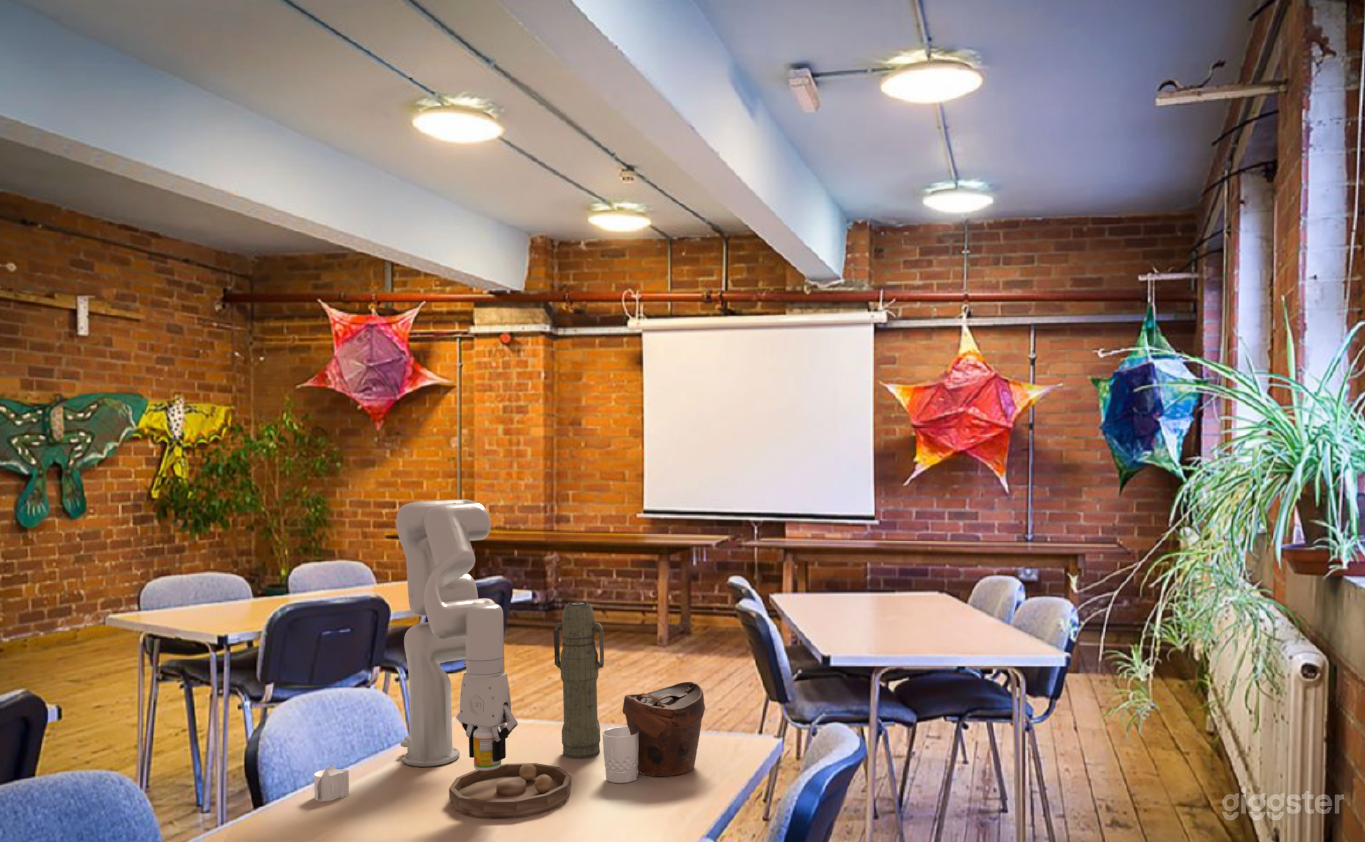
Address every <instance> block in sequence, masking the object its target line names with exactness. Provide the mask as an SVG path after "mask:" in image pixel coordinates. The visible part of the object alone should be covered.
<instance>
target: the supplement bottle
mask: <svg viewBox="0 0 1365 842" xmlns="http://www.w3.org/2000/svg"><path fill="white" fill-rule="evenodd" d="M477 727H478V728H477V729H476V730H475V731H474V733H473V742H474V757H473V767H474V770H476V769H477V770H481V771H488V770H494V769H497V768H499V767H500V766H501V765H502V760H500V761H497V762H494V761H493V746H492V743H493V741H495V738H494V734H493V731H492V728H489V727H482V726H477ZM498 729H499V732H500V731H501V730H500V727H498Z"/></svg>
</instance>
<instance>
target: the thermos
mask: <svg viewBox="0 0 1365 842" xmlns="http://www.w3.org/2000/svg"><path fill="white" fill-rule="evenodd" d="M595 618H596V617H595V612H594V610H593V607H592V604H591V603H588V602H587V601H571V602H568V604H565V606H564V608H563V612H562V615H561V623H560V622H559V623H557V624H556V626H555V627H554V629H553V630H552V631H553V632H552V633H553V649H554V665H555V666H556V667H557V668H558V669H559V670H560V679H561V681H562V693H563V694H562V695H563V697H562V699H563V700H562V701H563V723H562V724H563V725H562V728H561V743H562V755H563V757H565V758H569V759H576V760H577V759H588V758H593V757H596V756H598V755H600V752H601V749H600V743H601V726H600V722H599V719H598V684H597V681H598V678H599V670H600V669H601V668H603V667H604V665H605V646H604V645H605V644H604V641H605V639H604V627H603V626H602V624H601V623H600V622H597V621H595ZM596 628H597V629H598V630H599V631H598V632H599V637H598V638H599V653H598V651H597V648H596V641H595V636H596ZM560 629H561V630H562V631H561V632H562V633H561V634H562V636H561V637H562V640H563V641H562V649H560V646H561V645H560V644H561V643H560ZM560 650H561V651H560Z"/></svg>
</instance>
